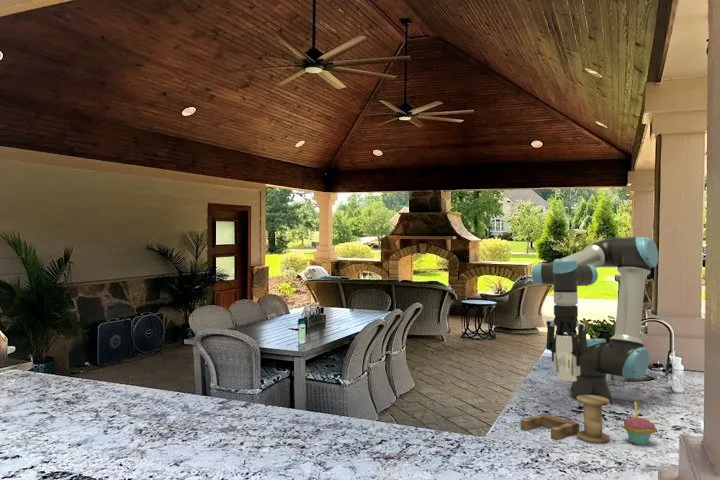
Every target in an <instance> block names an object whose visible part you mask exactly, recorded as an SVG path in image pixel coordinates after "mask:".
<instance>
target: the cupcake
mask: <svg viewBox="0 0 720 480" xmlns="http://www.w3.org/2000/svg"><path fill="white" fill-rule="evenodd" d="M633 404H634V413H635V416H631V417H629V418H627V419H625V420H624V421H623V429H625V432H626V433H627V435H628V439H629V441H630V443H633V444H636V445H642V446H643V445H648V444H649V441H650V439H651V436H652V434H655V433H656V426H655V424H654V423H653V422H651V421H650V420H649V419H647V418H643V417H639V413H638V412H639V411H638V404H637V401H636V400H634V403H633Z"/></svg>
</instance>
